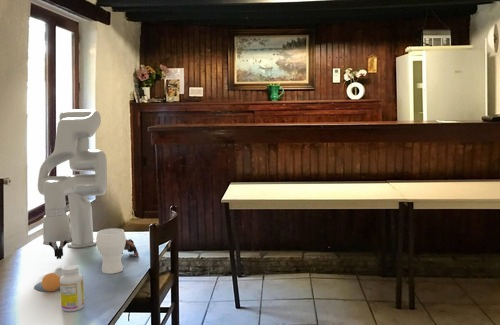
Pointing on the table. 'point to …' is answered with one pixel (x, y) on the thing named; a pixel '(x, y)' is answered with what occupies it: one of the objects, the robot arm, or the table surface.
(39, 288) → the disc
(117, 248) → the cup
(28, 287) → the table surface
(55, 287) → the ball
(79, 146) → the robot arm
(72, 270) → the supplement bottle
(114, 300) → the table surface
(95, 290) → the table surface
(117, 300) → the table surface
